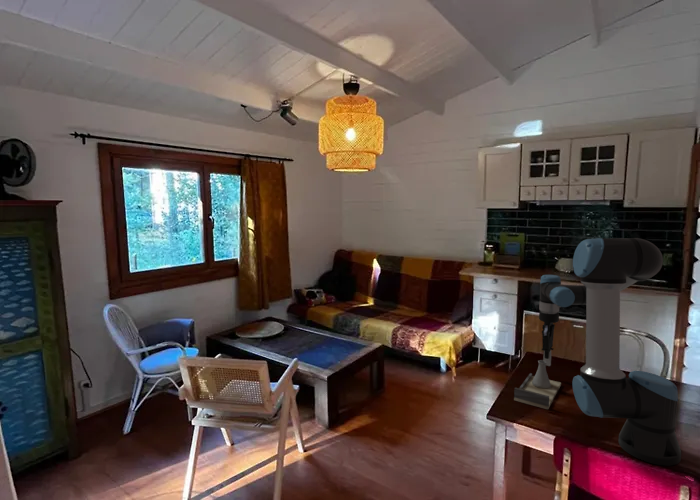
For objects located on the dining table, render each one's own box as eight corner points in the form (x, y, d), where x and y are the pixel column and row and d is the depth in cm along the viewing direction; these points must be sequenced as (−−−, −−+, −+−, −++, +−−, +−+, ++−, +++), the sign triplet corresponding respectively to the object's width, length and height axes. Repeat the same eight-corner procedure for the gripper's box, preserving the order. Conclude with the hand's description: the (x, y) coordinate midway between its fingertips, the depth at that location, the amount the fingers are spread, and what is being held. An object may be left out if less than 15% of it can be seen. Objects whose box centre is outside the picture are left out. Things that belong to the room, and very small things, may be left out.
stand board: (548, 409, 144) (548, 397, 143) (514, 400, 151) (514, 388, 151) (560, 385, 163) (561, 374, 162) (530, 378, 170) (530, 367, 170)
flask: (547, 381, 164) (547, 358, 163) (554, 389, 157) (555, 365, 156) (529, 380, 165) (529, 358, 164) (535, 388, 158) (536, 365, 156)
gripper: (555, 316, 158) (553, 372, 161) (562, 309, 168) (559, 361, 171) (535, 313, 163) (533, 367, 166) (543, 306, 173) (541, 357, 176)
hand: (546, 364), depth 168 cm, fingers closed
